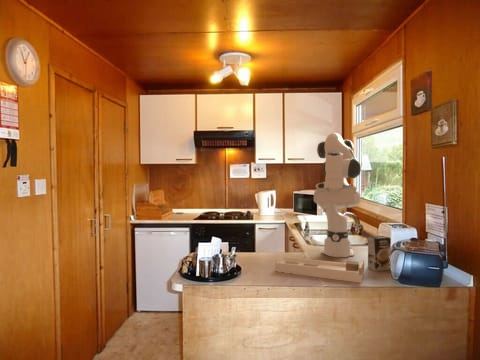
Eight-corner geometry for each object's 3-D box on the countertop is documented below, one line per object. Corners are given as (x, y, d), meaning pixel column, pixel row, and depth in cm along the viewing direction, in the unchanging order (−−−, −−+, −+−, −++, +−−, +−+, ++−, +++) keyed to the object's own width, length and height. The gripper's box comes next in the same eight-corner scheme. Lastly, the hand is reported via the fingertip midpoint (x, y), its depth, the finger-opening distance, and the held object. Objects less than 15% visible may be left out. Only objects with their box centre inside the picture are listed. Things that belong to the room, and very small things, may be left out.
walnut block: (347, 268, 161) (347, 260, 161) (358, 269, 159) (358, 261, 158) (345, 271, 156) (345, 263, 156) (357, 273, 154) (357, 264, 154)
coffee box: (375, 271, 166) (375, 238, 166) (367, 267, 172) (367, 236, 172) (391, 269, 169) (391, 237, 168) (382, 266, 175) (382, 235, 174)
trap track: (284, 264, 179) (284, 252, 179) (364, 274, 161) (364, 260, 161) (276, 271, 167) (275, 258, 167) (361, 282, 150) (361, 268, 149)
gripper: (357, 184, 165) (357, 212, 166) (315, 184, 174) (315, 210, 175) (355, 185, 160) (355, 214, 160) (312, 184, 168) (312, 212, 169)
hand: (334, 212), depth 167 cm, fingers open, 8 cm apart
